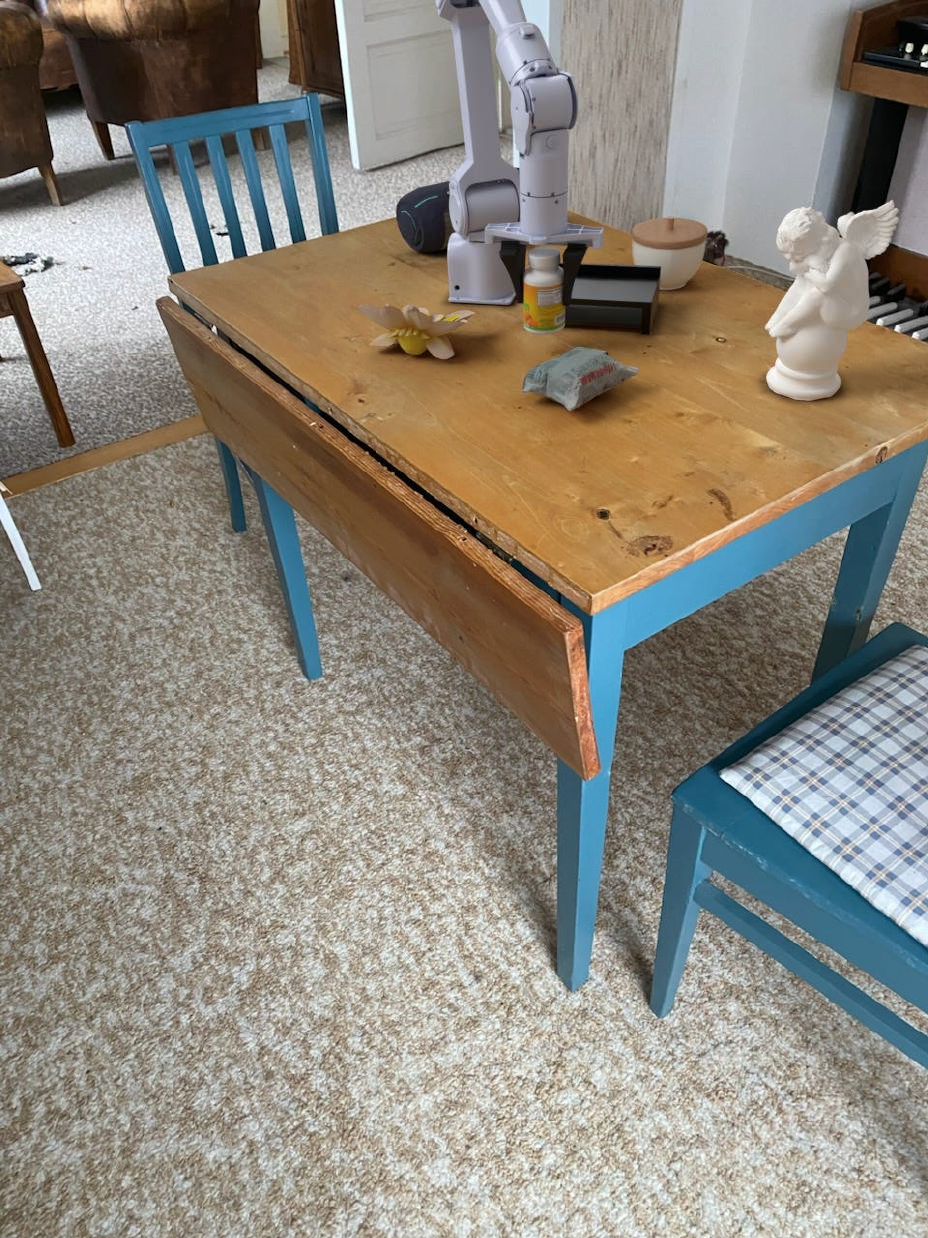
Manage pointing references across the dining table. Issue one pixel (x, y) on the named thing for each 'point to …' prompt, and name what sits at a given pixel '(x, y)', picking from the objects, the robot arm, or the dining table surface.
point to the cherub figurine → (823, 295)
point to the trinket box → (670, 248)
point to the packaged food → (577, 376)
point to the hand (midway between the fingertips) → (543, 301)
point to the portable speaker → (428, 216)
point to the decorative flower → (415, 328)
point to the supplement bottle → (543, 292)
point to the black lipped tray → (614, 296)
